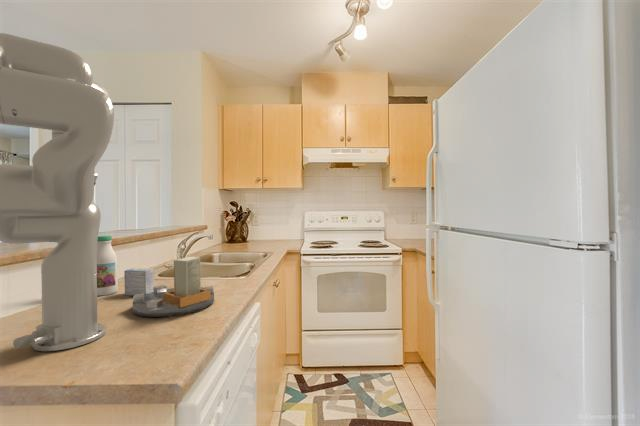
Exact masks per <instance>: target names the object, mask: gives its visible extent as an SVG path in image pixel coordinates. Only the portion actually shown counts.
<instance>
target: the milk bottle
mask: <svg viewBox="0 0 640 426" xmlns="http://www.w3.org/2000/svg"><path fill="white" fill-rule="evenodd" d="M112 237H113V236H111V235H98V240H97V297H99V296H107V295H112V294H115V293H117V292H118V291H119V290H118V288H119V284H118V283H119V280H118V279H119V278H118V277H119V275H118V274H119V272H118V271H119V269H118V257H117V254H116V252H115V250H114V248H113V246H112V241H113V238H112Z"/></svg>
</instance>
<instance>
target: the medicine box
mask: <svg viewBox="0 0 640 426" xmlns="http://www.w3.org/2000/svg"><path fill="white" fill-rule="evenodd" d="M154 271H155V270H154V267H152V268H151V267H132V268H128V269H125V270H124V278H123V279H124V296H134V295H135V294H142V293H145V294H148V293H151V292H153V287H155V272H154Z"/></svg>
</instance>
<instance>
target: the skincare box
mask: <svg viewBox="0 0 640 426" xmlns="http://www.w3.org/2000/svg"><path fill="white" fill-rule="evenodd" d="M173 288H174V295H176V296H180V297H184V296H188V295H192V294H196V293H200V292H201V257H200V256H199V257H198V256H185V257H182V258H177V259H174V260H173Z"/></svg>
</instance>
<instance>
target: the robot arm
mask: <svg viewBox="0 0 640 426" xmlns="http://www.w3.org/2000/svg"><path fill="white" fill-rule="evenodd" d="M114 121H115V109H114V104H113V102H112V99H111V96H110V93H109V92H108V90H107V89H106V88H105V87H104V86H102V85H100V84H98V83H96V82H95V81H93V72H92V69H91V67H90V65H89V64H88V62H87V61H86V60H85V59H84V58H83V57H81V55H79V54H77V53H76V52H74V51H72V50H70V49H67V48H64V47H60V46H57V45H53V44H49V43H46V42H42V41H37V40H33V39H29V38H25V37H21V36H17V35H13V34H9V33H5V32H0V125H5V126H6V125H9V126H16V127H25V128H33V129H41V130H50V131H51V139H50V140H49V141H47V142H45V144H43V145H41V146H40V147H39V148H38V149H36V151H35V153H33V156H32V158H31V159H32V160H31V161H32V163H31V164H32V165H29V164H28V165H25V164H9V163H7V164H6V163H5V164H4V163H3V164H0V242H2V243H4V244H10V245H12V244H14V245H15V244H16V245H17V244H34V243H35V244H36V243H57V244H56V246H55V247H54V248H53V249H52V250H50V252H49V253H48V254H47V255H45V257H44V258H43V260H42V261H41V262H42V263H41V267H40V269H41V271H40V272H41V324H39V325H36V326H35V327H36V328H35V330H34V331H32V333H30V334H25V335H22V336H20V337H17V338H14V339H13V341H12V345H13V347H14V348H15V349H19V348H22V347H25V346H27V345H31V346H32V348H33V349H34V350H35V351H39V352H55V351H64V350H68V349H73V348H77V347H80V346H83V345H86V344H89V343H92V342H94V341H96V340H98V339H100V338H101V337H103V336H104V335H105V334H106V333H107V327H106V325H104V324H102V323H99V322H98V316H99V315H98V296H97V240H98V236H99V231H100V226H101V215H102V214H101V210H100V207H99V205H97V203H95V202H93V200H94V194H95V193H94V192H95V186H96V182H97V179H98V176H99V175H98V173H96V172H95V169H96V167H97V165H98V163H99V162H100V160H101V158H102V157H103V155H104V153H105V152H106V151H107V148H108V145H109V144H110V141H111V137H112V134H113V129H114Z"/></svg>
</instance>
